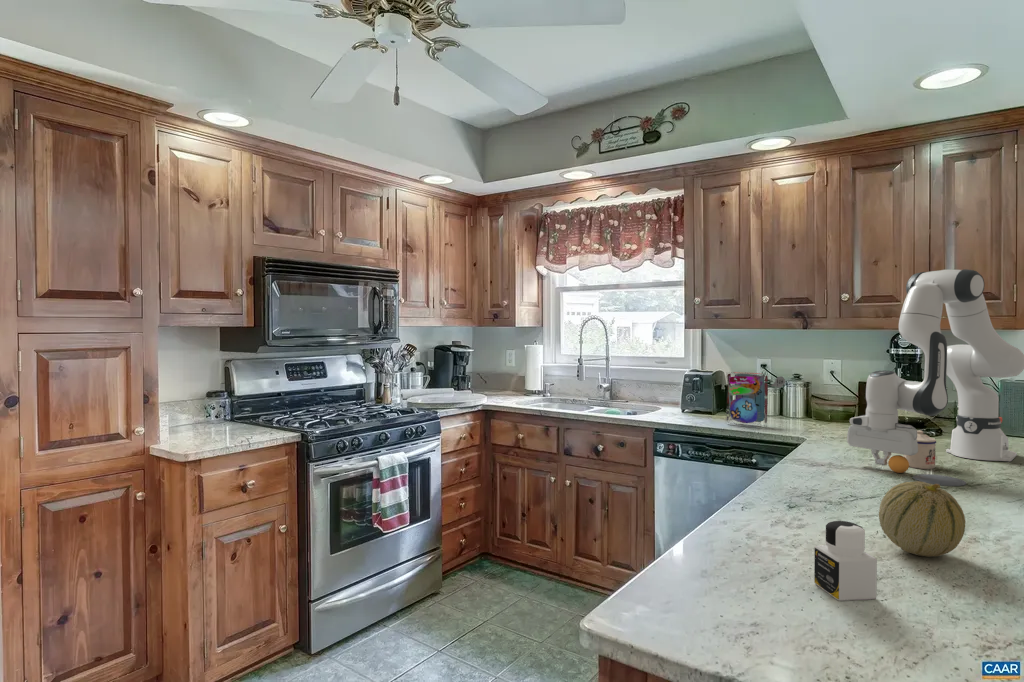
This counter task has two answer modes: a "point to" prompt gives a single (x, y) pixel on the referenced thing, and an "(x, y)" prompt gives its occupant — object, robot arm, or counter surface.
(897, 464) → the ball
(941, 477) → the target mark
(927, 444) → the teacup with lid
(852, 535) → the medicine bottle
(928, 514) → the cantaloupe
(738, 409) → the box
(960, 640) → the counter surface
